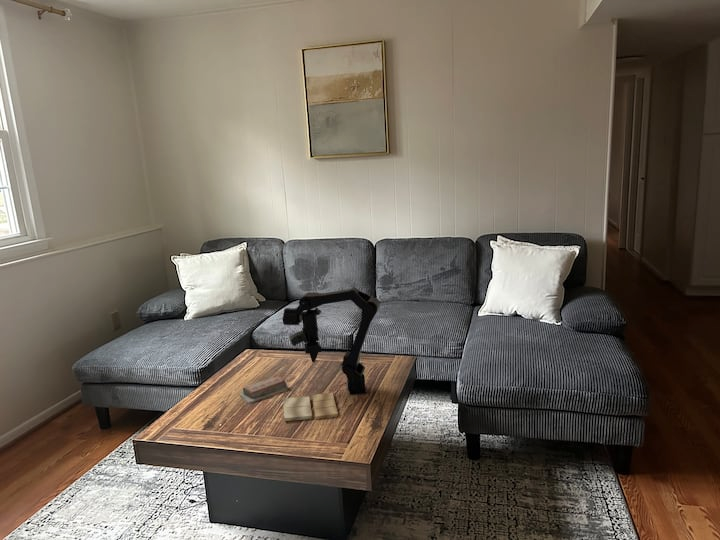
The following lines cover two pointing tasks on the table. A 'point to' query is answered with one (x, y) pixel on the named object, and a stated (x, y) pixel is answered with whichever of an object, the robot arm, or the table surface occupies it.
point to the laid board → (324, 406)
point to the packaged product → (263, 389)
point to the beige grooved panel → (297, 408)
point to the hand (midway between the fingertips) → (313, 362)
